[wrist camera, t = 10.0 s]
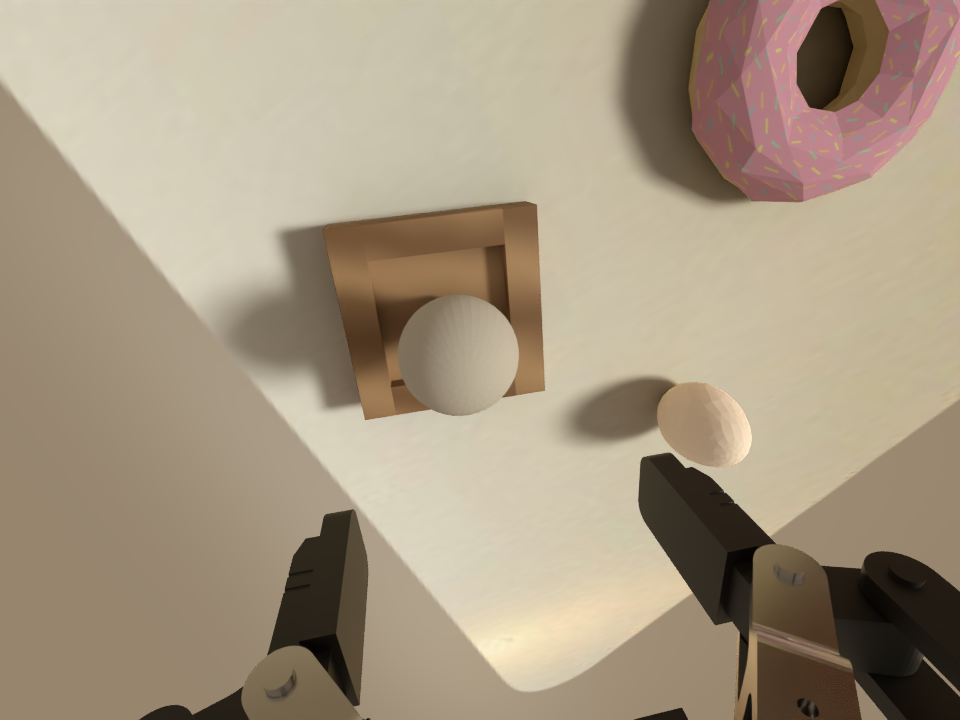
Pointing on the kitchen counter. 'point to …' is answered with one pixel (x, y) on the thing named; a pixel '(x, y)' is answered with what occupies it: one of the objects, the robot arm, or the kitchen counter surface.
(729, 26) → the donut
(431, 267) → the base
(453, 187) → the kitchen counter surface
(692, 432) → the egg
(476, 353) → the light bulb
